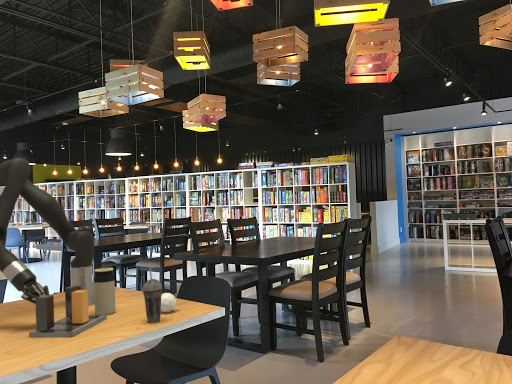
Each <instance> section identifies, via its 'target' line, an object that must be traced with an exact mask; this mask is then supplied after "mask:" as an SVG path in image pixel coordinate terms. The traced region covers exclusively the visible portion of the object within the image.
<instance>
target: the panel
mask: <svg viewBox="0 0 512 384" xmlns="http://www.w3.org/2000/svg"><path fill="white" fill-rule="evenodd" d="M77 290H81V286H71V285H70V286H68V287H65V288H64V297H65V302H64V303H65V316H63V317H61V318H58V319H57V320H55V306H54V305H55V302H54V297H55V296H54V294H53V295H52V294H51V295H50V294H49V295H43V296H40V297H37V298H36V304H35V329H34V330H31V331H30V332H28V337H29V338H74V337H75V336H77V335H79V334H82V333H83V332H85V331H87V330H89V329H91V328H93V327H94V326H96V325H98V324H100V323H102V322H103V321H106V320H107V319H108V316H107V315H96V314H89V320H88V321H86V322H84V323H72V292H74V291H77Z"/></svg>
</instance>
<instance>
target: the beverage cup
mask: <svg viewBox="0 0 512 384" xmlns="http://www.w3.org/2000/svg"><path fill="white" fill-rule="evenodd" d="M152 274H153V273H152V267H149V276H150V278H149V279H148V280H146V282H145V283H144V285H143V287H142V294H143V297H144V306H145V307H144V308H145V313H146V320H147V321H146V322H147V323H148V324H154V323H155V324H156V323H159V322H161V312H162V311H161V295H162V294H163V286H162V283H161V282H160V281H159V280H158V279H156V278H153V277H152V276H153V275H152Z"/></svg>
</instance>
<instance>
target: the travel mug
mask: <svg viewBox="0 0 512 384" xmlns="http://www.w3.org/2000/svg"><path fill="white" fill-rule="evenodd" d="M93 272H95V273H94V274H95V275H94V277H93V282H94V299H95V303H94V315H111V314H114V313H115V312H116V287H115V281H116V280H115V274H114V268H113V267H103V268H96V269H94V271H93Z"/></svg>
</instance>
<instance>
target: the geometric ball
mask: <svg viewBox="0 0 512 384" xmlns="http://www.w3.org/2000/svg"><path fill="white" fill-rule="evenodd" d="M176 307H177V299H176V297H175V295H173V294H172V293H171V292H164V293H162V295H161V312H162V313H168V314H169V313H171V312H172V311H174V309H175V308H176Z"/></svg>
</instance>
